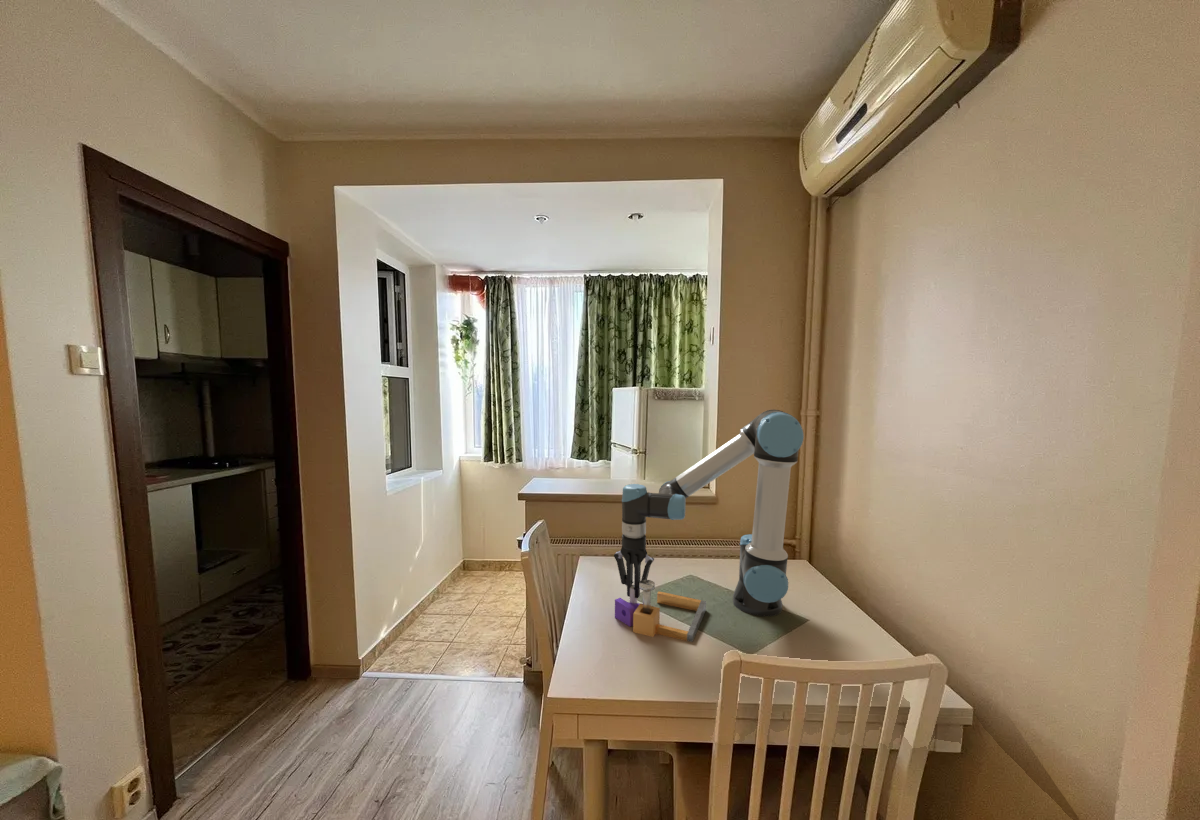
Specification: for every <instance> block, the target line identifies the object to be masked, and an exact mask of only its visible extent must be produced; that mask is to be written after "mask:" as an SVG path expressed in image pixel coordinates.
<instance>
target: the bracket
mask: <svg viewBox="0 0 1200 820" xmlns="http://www.w3.org/2000/svg"><path fill="white" fill-rule="evenodd" d="M640 604H641V603H640V602H639V603H638V602H637V603H635V604H634V603H631V602H630V601H626V600H625V599H623V598H622V597H618V598H616V599H614V618H615V619H616V620H618V621H620V622H622V623H623V624H625V625H627V626H628V627H632V626H633V613H634V612H635V610H636V609H637V607H638V606H639V605H640Z"/></svg>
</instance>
